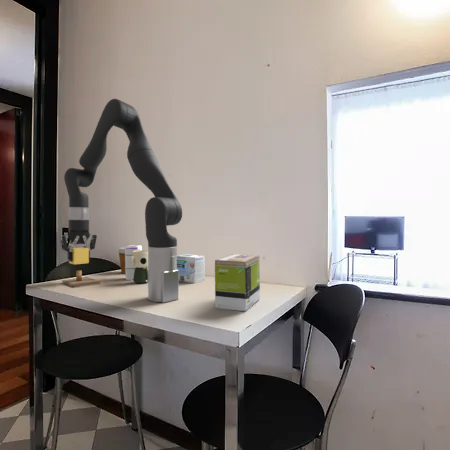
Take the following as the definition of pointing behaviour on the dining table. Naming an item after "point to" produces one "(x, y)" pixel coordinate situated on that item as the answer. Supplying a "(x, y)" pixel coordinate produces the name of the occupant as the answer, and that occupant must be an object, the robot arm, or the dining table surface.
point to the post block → (80, 280)
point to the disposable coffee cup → (122, 259)
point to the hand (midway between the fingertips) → (78, 260)
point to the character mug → (140, 265)
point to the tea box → (237, 281)
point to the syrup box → (128, 267)
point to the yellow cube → (80, 255)
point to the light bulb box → (191, 268)
